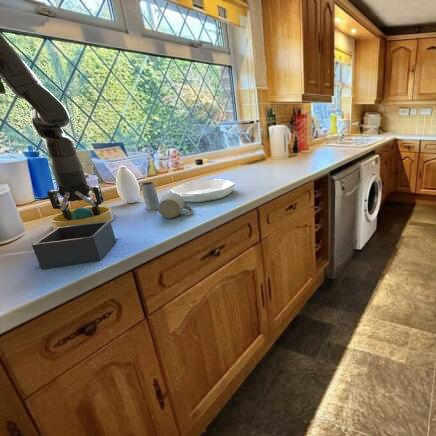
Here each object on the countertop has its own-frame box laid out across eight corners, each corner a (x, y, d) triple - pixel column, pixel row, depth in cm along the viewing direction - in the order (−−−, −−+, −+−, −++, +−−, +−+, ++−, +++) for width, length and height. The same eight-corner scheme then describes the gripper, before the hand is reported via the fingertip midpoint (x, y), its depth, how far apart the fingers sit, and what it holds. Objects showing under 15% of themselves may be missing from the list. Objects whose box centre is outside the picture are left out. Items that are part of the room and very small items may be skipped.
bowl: (44, 237, 93) (39, 224, 92) (68, 220, 108) (64, 209, 106) (104, 229, 98) (101, 217, 96) (120, 214, 112) (117, 204, 111)
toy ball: (71, 227, 99) (66, 211, 97) (79, 221, 104) (73, 206, 102) (91, 224, 101) (86, 208, 99) (97, 219, 106) (93, 204, 104)
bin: (41, 269, 73) (31, 245, 71) (65, 249, 84) (57, 227, 82) (100, 260, 76) (93, 237, 74) (116, 241, 87) (110, 221, 85)
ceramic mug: (159, 220, 104) (154, 199, 101) (163, 213, 111) (159, 193, 108) (192, 217, 107) (188, 196, 104) (194, 210, 114) (191, 190, 111)
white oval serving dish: (214, 206, 118) (212, 195, 116) (155, 206, 121) (152, 195, 120) (245, 187, 146) (244, 178, 145) (197, 187, 150) (195, 178, 149)
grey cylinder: (153, 211, 114) (146, 185, 111) (144, 210, 116) (137, 184, 112) (162, 207, 118) (156, 182, 115) (154, 207, 120) (148, 181, 116)
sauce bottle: (132, 199, 132) (121, 158, 126) (147, 200, 130) (136, 158, 124) (116, 204, 125) (104, 161, 119) (131, 205, 123) (119, 161, 117)
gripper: (33, 174, 91) (52, 225, 97) (89, 169, 95) (104, 218, 101) (46, 170, 98) (63, 217, 103) (98, 166, 102) (111, 212, 107)
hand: (83, 218), depth 102 cm, fingers open, 7 cm apart
